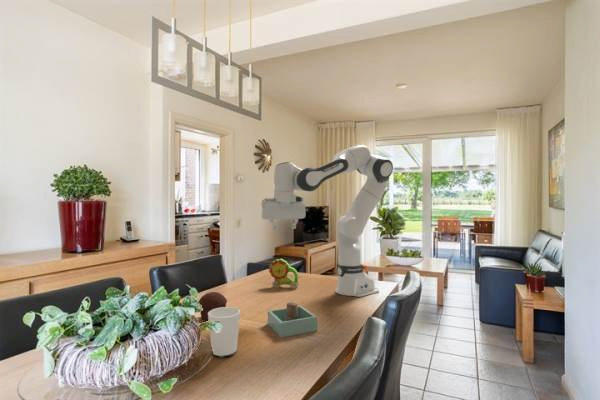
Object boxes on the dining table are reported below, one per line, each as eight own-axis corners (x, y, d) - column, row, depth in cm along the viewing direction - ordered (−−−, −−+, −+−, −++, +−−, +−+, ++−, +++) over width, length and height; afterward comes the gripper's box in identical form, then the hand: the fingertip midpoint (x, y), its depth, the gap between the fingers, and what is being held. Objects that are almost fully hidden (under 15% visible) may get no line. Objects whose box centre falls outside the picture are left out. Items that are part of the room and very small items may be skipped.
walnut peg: (294, 322, 125) (295, 301, 125) (298, 326, 121) (299, 305, 121) (284, 324, 124) (285, 303, 123) (288, 328, 120) (288, 306, 120)
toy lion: (299, 286, 179) (299, 258, 179) (296, 289, 174) (296, 260, 174) (271, 285, 183) (271, 257, 183) (268, 287, 177) (268, 259, 177)
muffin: (193, 317, 133) (193, 292, 133) (219, 311, 140) (219, 287, 140) (205, 325, 124) (204, 299, 124) (232, 319, 131) (231, 294, 131)
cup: (224, 363, 95) (224, 319, 95) (200, 355, 101) (200, 313, 101) (247, 350, 104) (247, 310, 104) (224, 343, 109) (224, 304, 109)
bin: (300, 318, 132) (300, 305, 132) (317, 330, 119) (317, 316, 119) (267, 323, 126) (267, 310, 126) (281, 337, 113) (280, 323, 113)
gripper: (264, 198, 141) (264, 230, 141) (307, 198, 149) (307, 228, 149) (259, 198, 147) (259, 229, 147) (301, 198, 155) (301, 227, 155)
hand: (283, 229), depth 148 cm, fingers open, 8 cm apart
